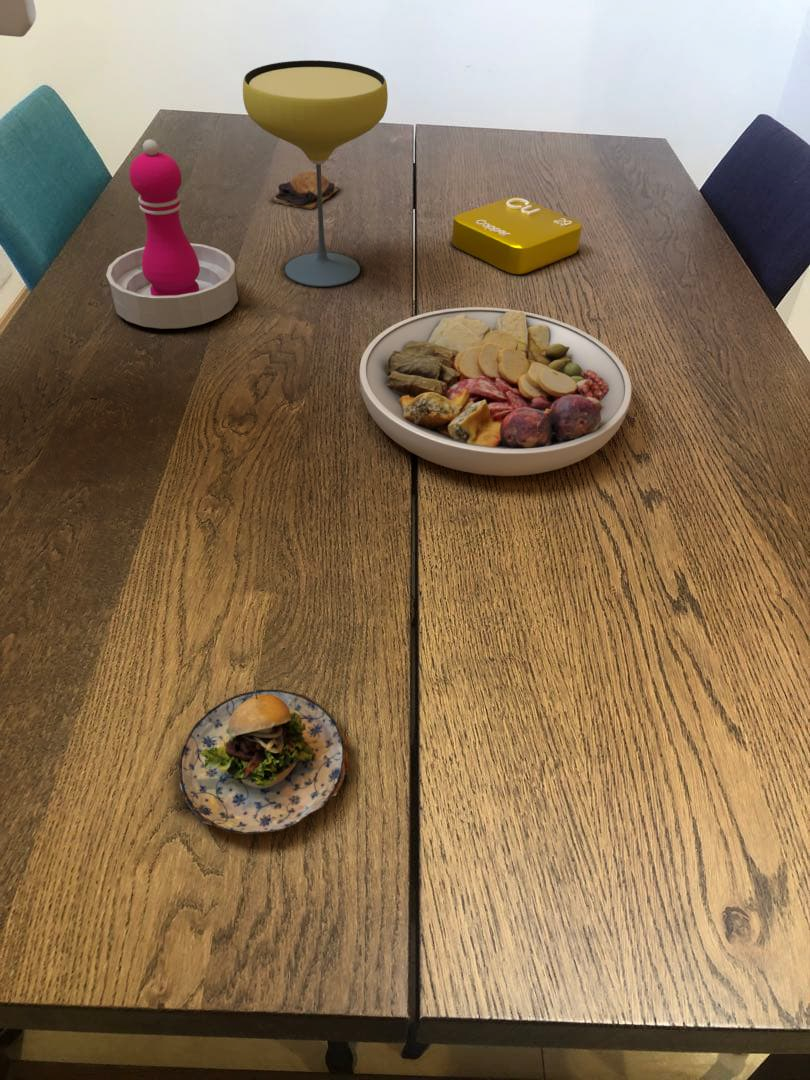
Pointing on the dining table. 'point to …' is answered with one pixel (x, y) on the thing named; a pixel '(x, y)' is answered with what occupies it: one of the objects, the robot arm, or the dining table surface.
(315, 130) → the cocktail glass
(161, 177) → the pepper mill
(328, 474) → the dining table surface
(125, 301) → the white ledged dish
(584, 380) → the bowl
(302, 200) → the topped cracker
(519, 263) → the element tile
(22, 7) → the robot arm
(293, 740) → the burger
